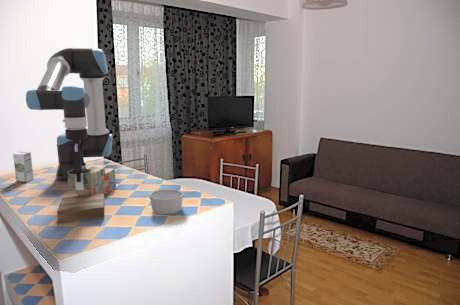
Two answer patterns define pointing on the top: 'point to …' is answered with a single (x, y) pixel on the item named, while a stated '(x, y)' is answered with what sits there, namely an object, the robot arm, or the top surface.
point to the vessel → (86, 178)
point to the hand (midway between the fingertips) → (80, 185)
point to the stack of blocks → (100, 181)
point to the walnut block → (81, 208)
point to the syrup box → (23, 166)
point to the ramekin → (166, 201)
